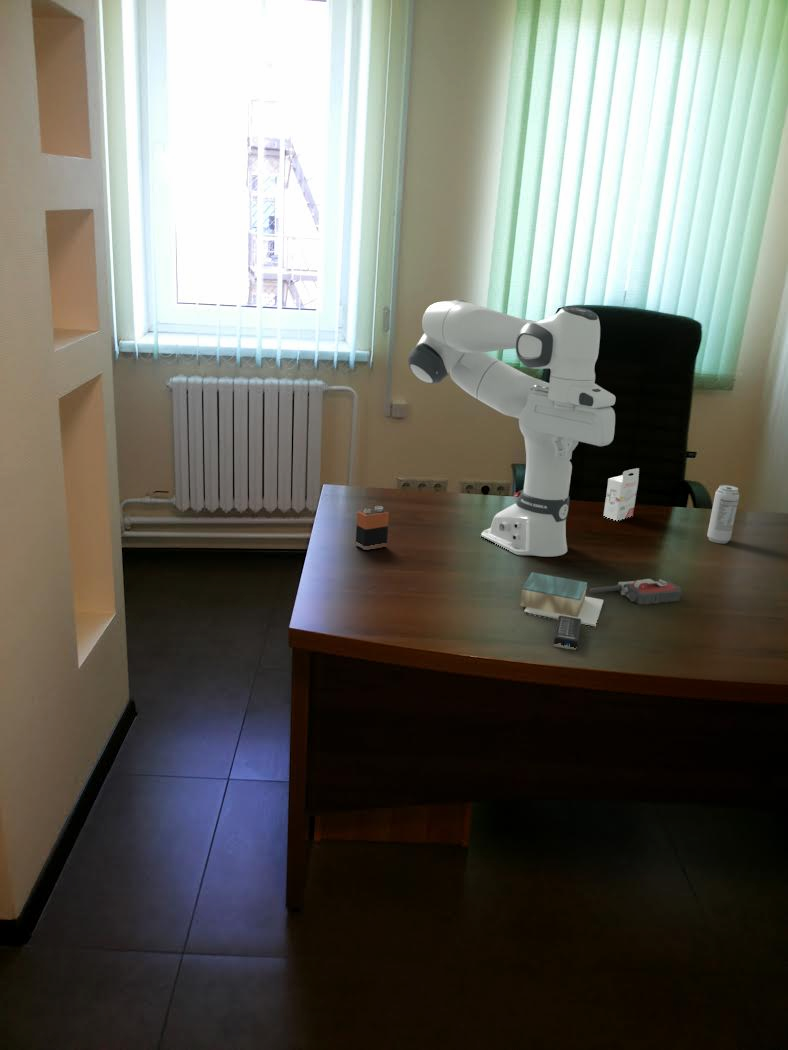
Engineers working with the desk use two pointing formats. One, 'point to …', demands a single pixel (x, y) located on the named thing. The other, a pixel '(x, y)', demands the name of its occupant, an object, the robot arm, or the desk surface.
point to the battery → (372, 526)
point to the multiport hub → (567, 631)
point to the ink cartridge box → (621, 495)
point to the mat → (586, 614)
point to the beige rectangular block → (553, 594)
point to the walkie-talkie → (645, 591)
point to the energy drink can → (723, 514)
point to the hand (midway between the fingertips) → (562, 458)
